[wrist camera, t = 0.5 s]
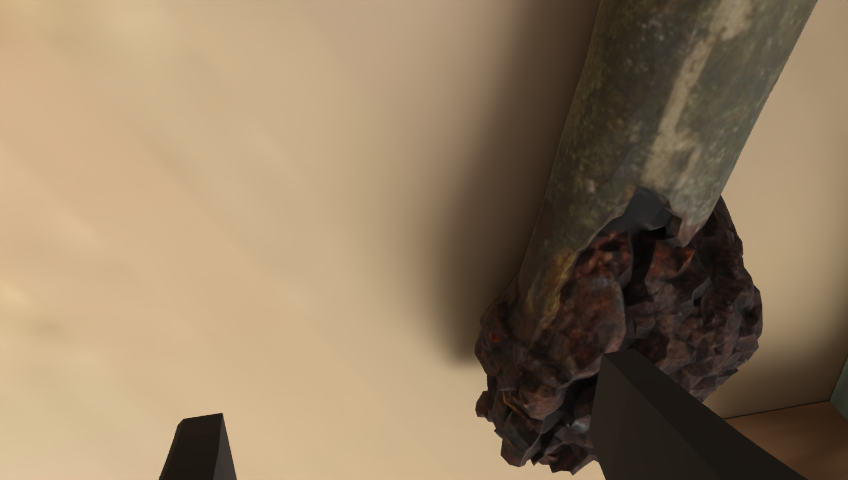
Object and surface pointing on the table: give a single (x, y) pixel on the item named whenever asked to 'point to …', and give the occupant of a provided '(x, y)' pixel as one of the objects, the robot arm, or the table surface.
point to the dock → (805, 434)
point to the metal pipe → (637, 221)
